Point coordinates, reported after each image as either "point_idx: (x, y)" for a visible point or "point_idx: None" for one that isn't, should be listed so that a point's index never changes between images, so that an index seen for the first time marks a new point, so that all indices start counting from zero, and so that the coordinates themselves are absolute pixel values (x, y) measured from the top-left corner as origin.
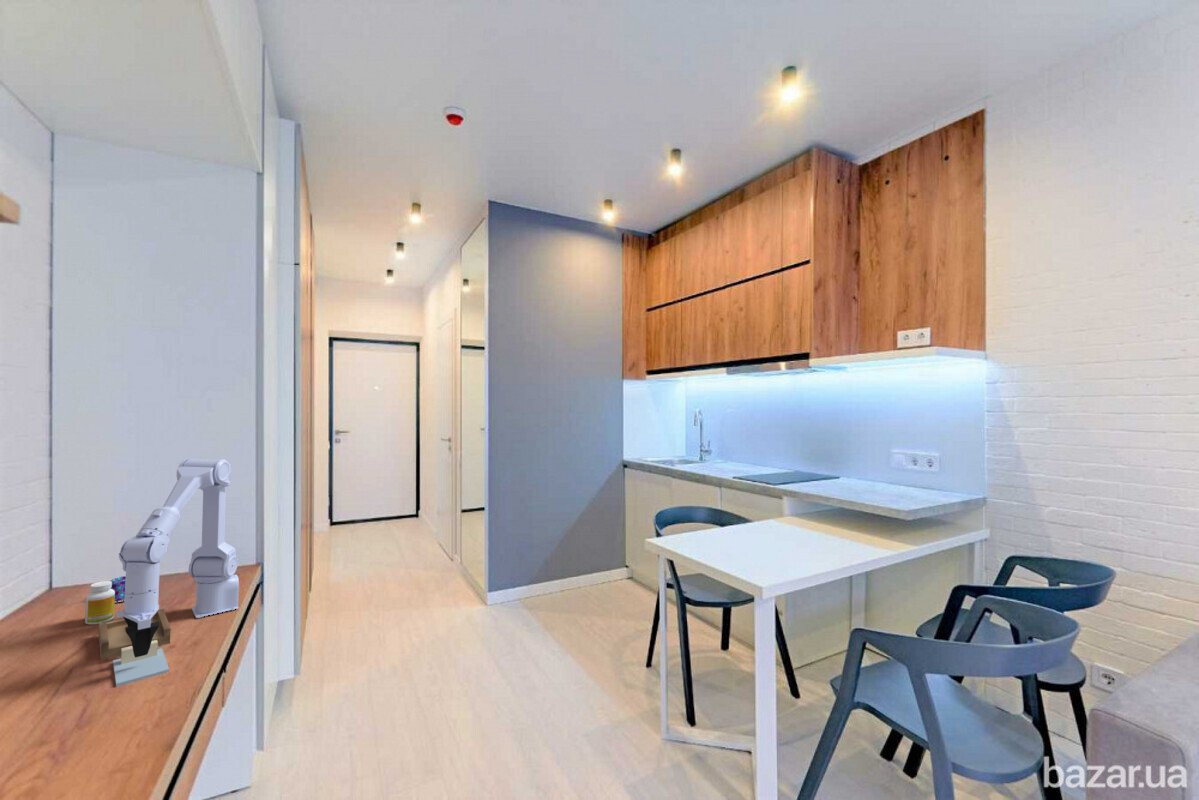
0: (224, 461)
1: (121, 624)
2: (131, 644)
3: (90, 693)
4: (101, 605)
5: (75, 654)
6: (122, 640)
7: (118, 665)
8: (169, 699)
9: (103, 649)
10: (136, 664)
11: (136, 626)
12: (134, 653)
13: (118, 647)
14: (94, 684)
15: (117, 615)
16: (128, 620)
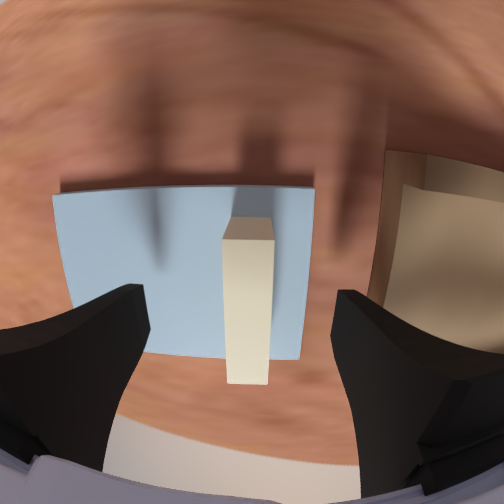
0: None
1: None
2: (388, 277)
3: (62, 117)
4: None
5: (490, 99)
6: (459, 248)
7: (227, 205)
8: None
9: (408, 162)
10: (183, 269)
11: (2, 418)
12: (114, 291)
13: (397, 225)
14: (124, 118)
15: (18, 497)
16: (414, 383)
